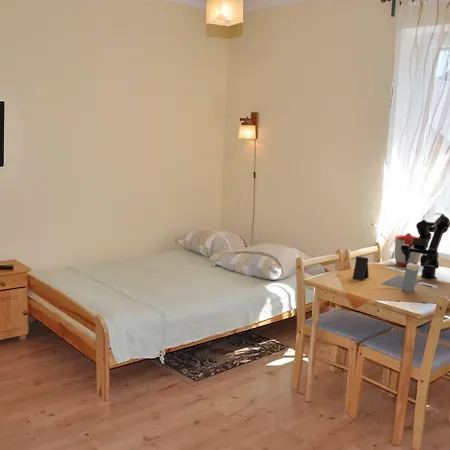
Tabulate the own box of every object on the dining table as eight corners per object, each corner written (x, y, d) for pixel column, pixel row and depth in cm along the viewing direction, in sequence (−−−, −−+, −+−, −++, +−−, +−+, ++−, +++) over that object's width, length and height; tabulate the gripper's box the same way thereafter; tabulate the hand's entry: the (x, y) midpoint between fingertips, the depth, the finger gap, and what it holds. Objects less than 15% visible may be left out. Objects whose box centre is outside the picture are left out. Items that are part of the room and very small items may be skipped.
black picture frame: (362, 280, 301) (364, 259, 299) (352, 278, 304) (353, 258, 302) (368, 277, 308) (370, 256, 306) (358, 275, 312) (359, 254, 309)
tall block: (404, 287, 287) (410, 262, 284) (413, 290, 285) (419, 265, 281) (401, 289, 284) (406, 264, 280) (410, 292, 281) (416, 267, 277)
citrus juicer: (394, 267, 329) (397, 235, 325) (391, 260, 346) (394, 229, 342) (422, 269, 326) (424, 236, 322) (417, 262, 343) (420, 231, 339)
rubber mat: (397, 275, 312) (397, 275, 311) (421, 280, 303) (421, 279, 303) (381, 284, 295) (381, 283, 295) (407, 289, 286) (407, 288, 286)
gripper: (403, 229, 294) (393, 253, 287) (438, 234, 282) (429, 259, 276) (407, 241, 301) (398, 264, 295) (442, 246, 290) (433, 271, 283)
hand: (414, 264), depth 287 cm, fingers open, 9 cm apart
